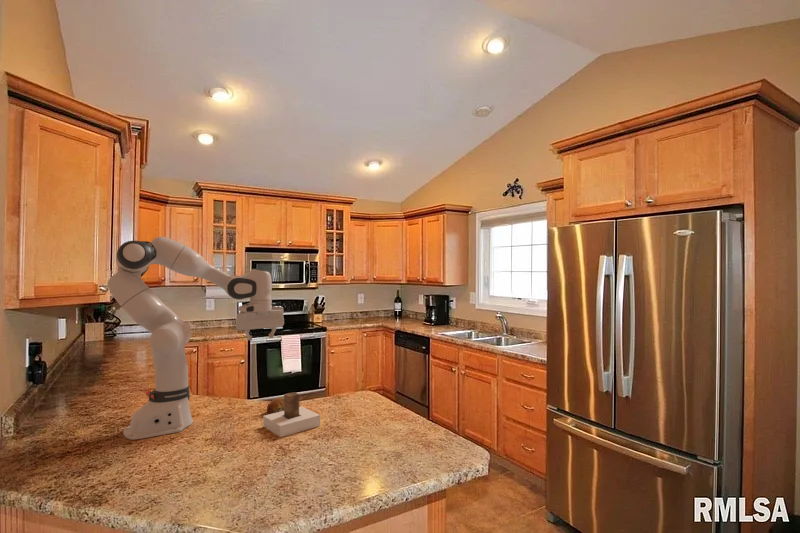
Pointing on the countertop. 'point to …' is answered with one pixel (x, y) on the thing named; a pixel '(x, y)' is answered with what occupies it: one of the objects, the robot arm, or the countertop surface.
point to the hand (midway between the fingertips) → (260, 338)
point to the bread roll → (275, 406)
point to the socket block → (291, 422)
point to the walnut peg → (291, 405)
